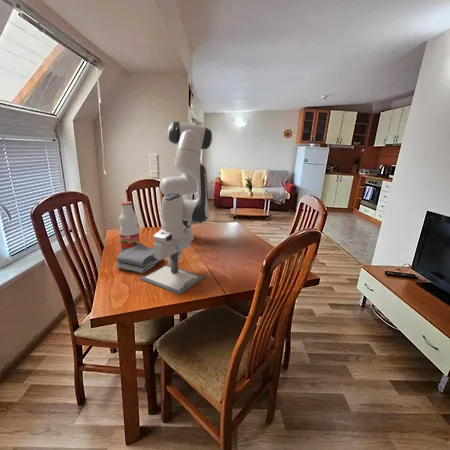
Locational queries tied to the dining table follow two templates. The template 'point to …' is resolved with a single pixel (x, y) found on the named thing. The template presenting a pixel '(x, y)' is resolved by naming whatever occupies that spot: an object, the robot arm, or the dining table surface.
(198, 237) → the dining table surface
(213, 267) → the dining table surface
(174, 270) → the marker
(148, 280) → the clipboard
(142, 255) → the towel
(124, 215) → the fruit juice
